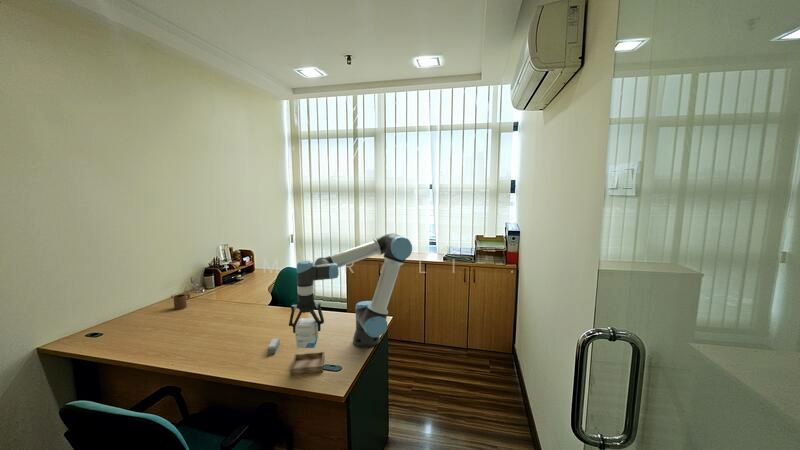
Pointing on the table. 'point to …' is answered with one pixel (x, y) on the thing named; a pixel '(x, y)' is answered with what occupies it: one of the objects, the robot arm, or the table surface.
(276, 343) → the grey rectangular block
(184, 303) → the mug
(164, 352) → the table surface
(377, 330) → the robot arm
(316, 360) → the tray
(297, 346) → the ink box
